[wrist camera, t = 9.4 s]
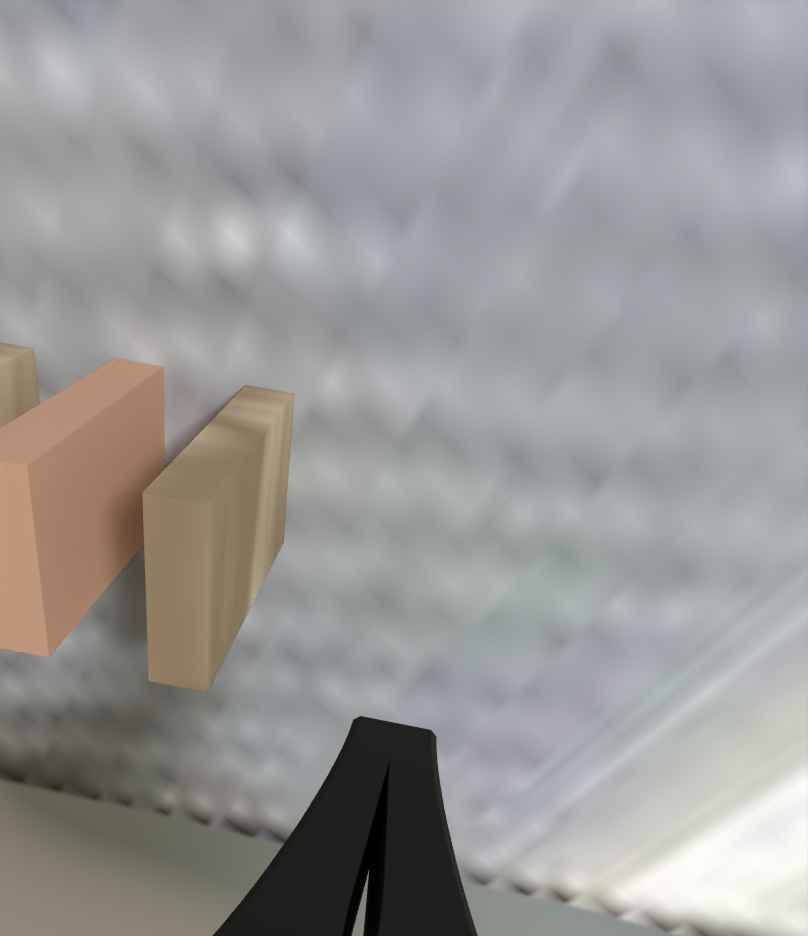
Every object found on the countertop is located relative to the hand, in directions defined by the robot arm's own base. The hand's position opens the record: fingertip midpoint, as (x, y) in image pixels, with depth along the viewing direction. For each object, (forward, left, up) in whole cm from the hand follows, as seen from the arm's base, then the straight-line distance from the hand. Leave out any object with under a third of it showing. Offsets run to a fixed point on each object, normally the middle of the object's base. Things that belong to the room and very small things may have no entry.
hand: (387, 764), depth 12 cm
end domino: (-5, 0, -10) cm, 11 cm away
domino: (-9, 0, -10) cm, 13 cm away
